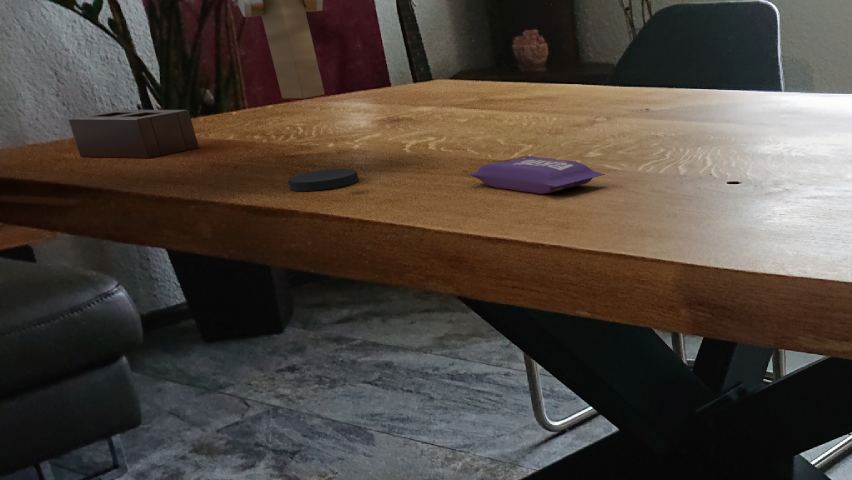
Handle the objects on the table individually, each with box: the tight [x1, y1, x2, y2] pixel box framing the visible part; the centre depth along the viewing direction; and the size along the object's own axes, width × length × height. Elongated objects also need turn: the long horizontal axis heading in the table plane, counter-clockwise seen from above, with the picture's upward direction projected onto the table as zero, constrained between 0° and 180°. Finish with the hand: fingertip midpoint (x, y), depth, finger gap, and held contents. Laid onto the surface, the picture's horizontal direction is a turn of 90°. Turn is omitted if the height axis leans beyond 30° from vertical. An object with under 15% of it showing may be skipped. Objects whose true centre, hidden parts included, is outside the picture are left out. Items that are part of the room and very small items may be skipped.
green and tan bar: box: [261, 0, 326, 100], centre depth 89 cm, size 3×2×13 cm
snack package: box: [467, 155, 606, 195], centre depth 87 cm, size 12×2×5 cm
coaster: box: [287, 168, 359, 192], centre depth 94 cm, size 6×6×1 cm
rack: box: [67, 109, 200, 159], centre depth 118 cm, size 6×11×4 cm, turn 67°
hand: (284, 8), depth 88 cm, fingers closed on green and tan bar, 3 cm apart
